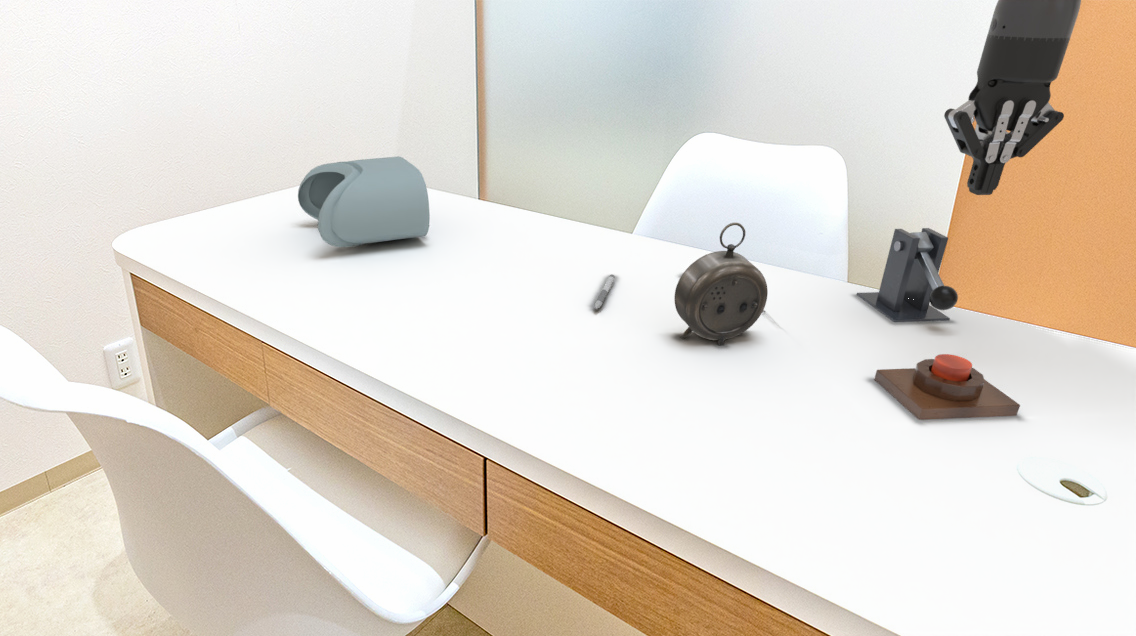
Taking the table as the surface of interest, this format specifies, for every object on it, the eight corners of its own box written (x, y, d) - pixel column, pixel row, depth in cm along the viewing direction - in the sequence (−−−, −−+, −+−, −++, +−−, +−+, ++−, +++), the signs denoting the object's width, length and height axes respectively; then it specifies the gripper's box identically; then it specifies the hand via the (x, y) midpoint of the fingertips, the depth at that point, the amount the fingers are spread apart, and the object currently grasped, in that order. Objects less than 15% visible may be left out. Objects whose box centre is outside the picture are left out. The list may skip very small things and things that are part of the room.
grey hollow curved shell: (431, 248, 132) (428, 175, 126) (322, 262, 125) (314, 185, 119) (396, 215, 150) (392, 150, 144) (300, 225, 143) (292, 157, 137)
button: (954, 367, 84) (958, 353, 84) (975, 382, 81) (980, 368, 80) (924, 368, 84) (928, 354, 83) (943, 383, 81) (948, 369, 80)
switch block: (960, 382, 89) (970, 352, 87) (1014, 422, 81) (1026, 390, 79) (872, 385, 88) (880, 355, 86) (917, 426, 80) (927, 394, 78)
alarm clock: (744, 332, 101) (765, 214, 94) (764, 349, 96) (787, 227, 89) (667, 337, 99) (682, 218, 92) (683, 356, 95) (700, 231, 87)
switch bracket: (947, 326, 103) (973, 244, 98) (892, 328, 102) (914, 245, 97) (906, 298, 112) (927, 221, 107) (855, 300, 111) (873, 222, 106)
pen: (615, 281, 118) (616, 272, 117) (599, 315, 106) (599, 305, 105) (609, 280, 118) (609, 272, 117) (592, 314, 106) (592, 305, 106)
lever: (953, 314, 98) (967, 299, 96) (930, 315, 98) (943, 300, 96) (918, 245, 105) (931, 229, 102) (897, 246, 105) (908, 230, 102)
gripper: (992, 34, 76) (944, 202, 84) (1115, 35, 77) (1056, 201, 85) (948, 30, 83) (907, 186, 91) (1061, 30, 84) (1011, 185, 92)
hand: (979, 193), depth 88 cm, fingers closed
